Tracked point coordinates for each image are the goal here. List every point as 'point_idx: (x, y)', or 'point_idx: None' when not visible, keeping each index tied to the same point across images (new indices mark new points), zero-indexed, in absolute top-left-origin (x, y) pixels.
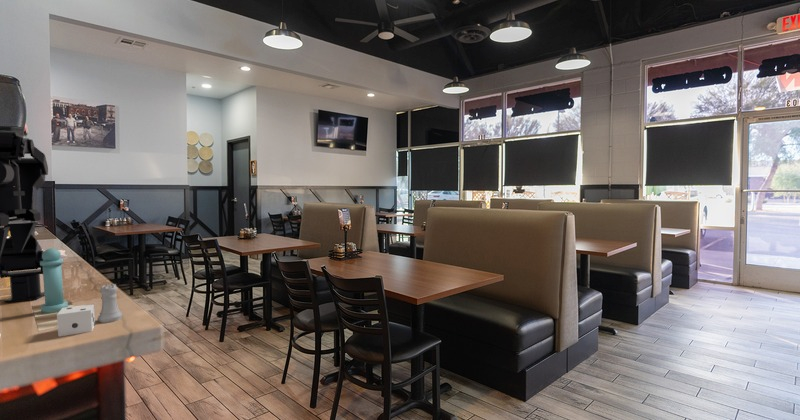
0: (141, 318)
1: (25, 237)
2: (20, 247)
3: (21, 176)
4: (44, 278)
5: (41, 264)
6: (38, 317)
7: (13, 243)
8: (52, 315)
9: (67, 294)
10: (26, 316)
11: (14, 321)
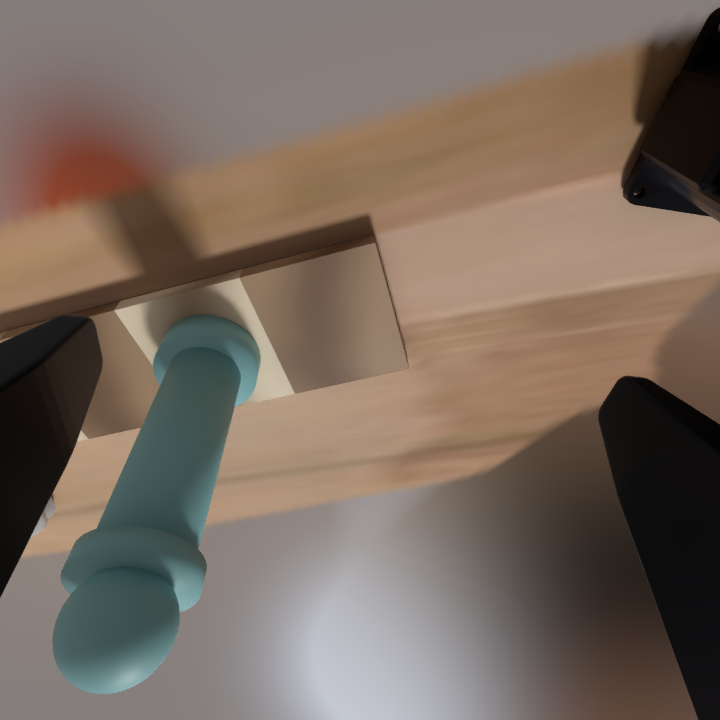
0: (62, 541)
1: (677, 642)
2: (626, 470)
3: None
4: (128, 463)
5: (76, 545)
6: (102, 324)
7: (714, 469)
8: (122, 363)
9: (645, 313)
10: (225, 245)
11: (141, 219)
